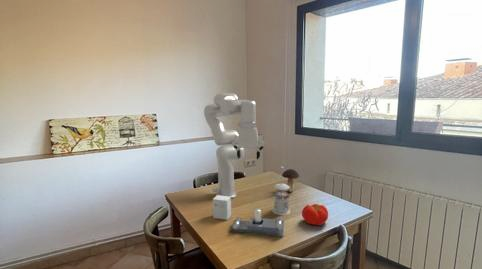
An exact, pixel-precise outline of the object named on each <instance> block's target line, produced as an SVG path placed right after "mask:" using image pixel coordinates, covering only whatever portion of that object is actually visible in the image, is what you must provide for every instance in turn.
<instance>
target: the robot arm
mask: <svg viewBox="0 0 482 269" xmlns="http://www.w3.org/2000/svg"><path fill="white" fill-rule="evenodd" d="M238 98H239V97H238V96H237V94H235V93H233V92H220V93H216V94H215V96H214V97H213V103H209V104H207V105H206V106H204V108H203V109H204V110H203V114H204V118H205V121H206V123H207V125H208V127H209V128H210V130H211V134H212V138H213V141H214V143H215V145H216V146H219V147H217V149H216V150H215V156H216V159H217V160H216V161H217V173H218V174H217V177H218V178H217V179H218V187H217V188H216V187H212V192H213V193H216V195H215V197H216V196H217V195H220V196H228V197H231V199H234V198H236V196H238V195H237V192H236V191H235V178H234V177H235V176H234V175H235V172H234V166H233V164H232V163H231V161H238V160H242V159H243V158H244V157H245V149H255V150H256V160H259V158H261V151H262V150H263V148H265V145H266V142H265V141H264V140H261V139H259V133H258V127H257V125H256V124H257V123H256V122H257V121H256V119H257V117H256V112H257V111H256V110H257V109H256V108H257V107H256V106H257V105H256V102H255V101H254V100H248V99H238ZM233 115H234V116H236V115H240V122H238V123H237V126H238V127H239V128H238V131H237V130H235V129H226V128H225V126H224V124H223V122H222V121H221V120H220V119H218V118H222V117H223V118H224V117H230V116H233ZM259 144H261V146H259Z"/></svg>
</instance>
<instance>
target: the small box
mask: <svg viewBox="0 0 482 269" xmlns="http://www.w3.org/2000/svg"><path fill="white" fill-rule="evenodd" d="M231 200H232V198H231V197H228V196H220V195H217V196H216V195H215V197H213V198H212V212H213V213H212V214H213V216H212V217H213V218H212V219H217V220H218V219H219V220H225V221H229V218H230V217H231V216H232V201H231Z"/></svg>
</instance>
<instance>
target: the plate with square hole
mask: <svg viewBox="0 0 482 269" xmlns="http://www.w3.org/2000/svg"><path fill="white" fill-rule="evenodd" d="M284 231H285V220H284V219H283V217H282V216H278V217H277V219H274V218H273V219H272V218H264V217H263V218H262V217H261V225H258V224H255V217H250V220H242V217H240V216H238V217H236V219H234V221H233V223H232V224H231V227H230V232H231V233H238V234H248V235H249V234H250V235H257V236H258V235H259V236H270V237H280V238H283V237H284V233H285V232H284Z"/></svg>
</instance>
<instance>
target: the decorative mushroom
mask: <svg viewBox="0 0 482 269" xmlns="http://www.w3.org/2000/svg"><path fill="white" fill-rule="evenodd" d="M281 177H282V178H286V179H287V184H286V185H288V186H289V189H288V190H287V191H288V192H290V193H291V192H294V190H295V185H294V184H295V182H294V179H298V178H300V174H299V172H298V171H296V170H295V169H292V168H288V169H286V170H284V171H282V173H281Z"/></svg>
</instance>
